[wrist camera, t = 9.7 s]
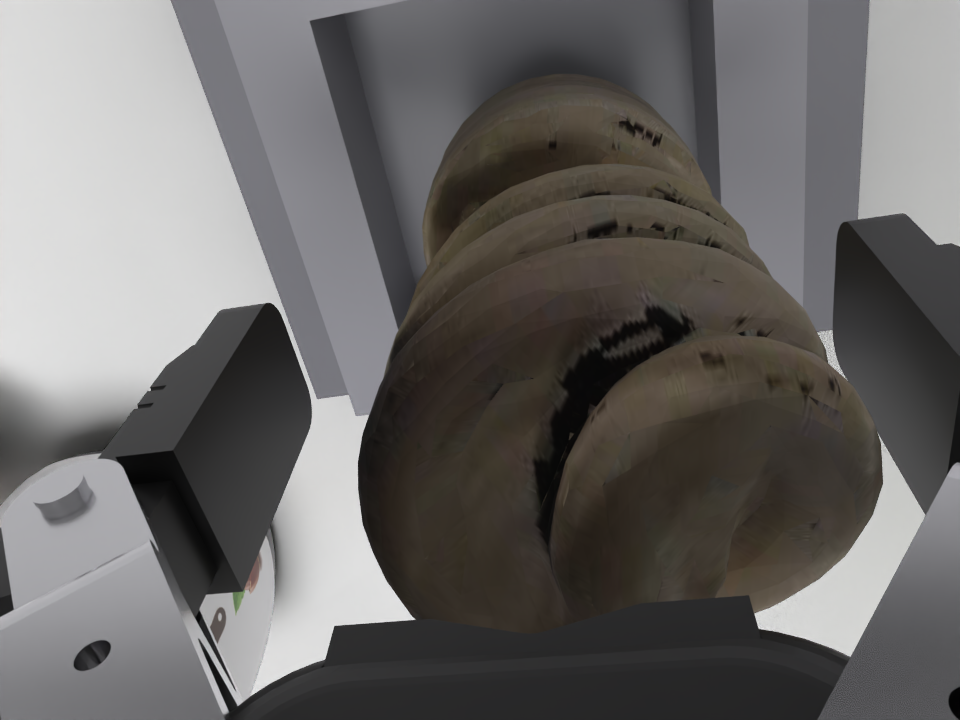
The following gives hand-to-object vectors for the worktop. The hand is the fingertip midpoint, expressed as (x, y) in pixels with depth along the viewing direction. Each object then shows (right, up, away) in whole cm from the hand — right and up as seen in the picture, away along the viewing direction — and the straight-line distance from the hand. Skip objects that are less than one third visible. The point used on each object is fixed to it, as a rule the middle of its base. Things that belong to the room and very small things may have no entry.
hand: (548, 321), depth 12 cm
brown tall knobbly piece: (+1, +5, +9) cm, 10 cm away
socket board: (0, +6, +9) cm, 11 cm away
